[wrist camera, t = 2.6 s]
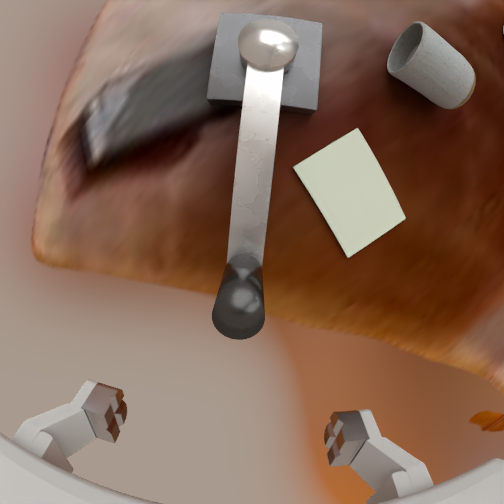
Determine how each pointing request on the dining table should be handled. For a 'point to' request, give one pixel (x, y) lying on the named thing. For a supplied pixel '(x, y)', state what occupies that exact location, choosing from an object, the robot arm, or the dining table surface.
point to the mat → (351, 191)
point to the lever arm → (253, 175)
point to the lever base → (294, 79)
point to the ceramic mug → (431, 66)
